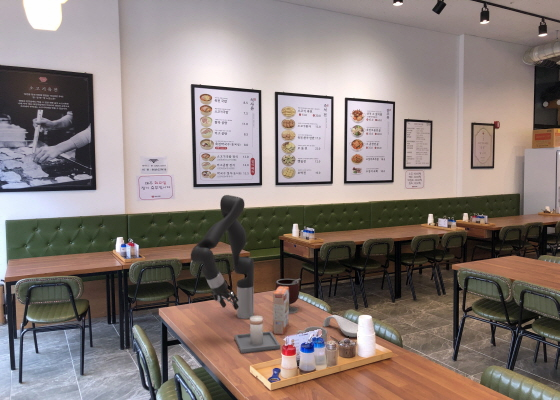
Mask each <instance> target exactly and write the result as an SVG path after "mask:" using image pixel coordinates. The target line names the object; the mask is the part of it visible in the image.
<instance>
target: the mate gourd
mask: <svg viewBox="0 0 560 400" xmlns="http://www.w3.org/2000/svg"><path fill="white" fill-rule="evenodd" d="M299 281H301V278H298V279H293V278H281V279H278V280H276V284H275V289H274V290H275V291H276V289H277V288H278V287H279V286H282V287H289V315H292V313H293V314H296V313H298V312H299V309H298V307H296V306H291V305H293V304H295V303H296V302H297V301H298V300H299V297H300V283H299ZM275 291H274V292H275ZM297 311H298V312H297Z"/></svg>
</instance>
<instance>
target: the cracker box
mask: <svg viewBox="0 0 560 400" xmlns="http://www.w3.org/2000/svg"><path fill="white" fill-rule="evenodd" d="M272 299H273V300H272V301H273V302H272V303H273V304H272V305H273V307H272V308H273V309H272V311H273V312H272V334H273V335H284V334H285V333H286V331H287V329H288V327H289V323H290V322H289V316H290V314H289V287H282V286H279V287H278V288H277V289H276V291H274V292H273V297H272Z"/></svg>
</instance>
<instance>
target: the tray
mask: <svg viewBox="0 0 560 400" xmlns="http://www.w3.org/2000/svg"><path fill="white" fill-rule="evenodd" d="M234 340H235V342H236V345H237V347H238V349H239V351H240V354H242V355H243V354H251V353H261V352H268V351H279V350H281V344H280V342H279V341H278V339H277V338H276V337H275V334H273V331H271V330H269V331H263V344H261V345H252V344H251V343H250V332H249V333H241V334H234Z"/></svg>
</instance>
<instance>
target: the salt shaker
mask: <svg viewBox="0 0 560 400" xmlns="http://www.w3.org/2000/svg"><path fill="white" fill-rule="evenodd" d="M263 317H264V316H262V315H254V316H252V317H250V318H249V328H250V329H249V333H250V343H251V344H252V345H261V344H263V332H264V318H263Z"/></svg>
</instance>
